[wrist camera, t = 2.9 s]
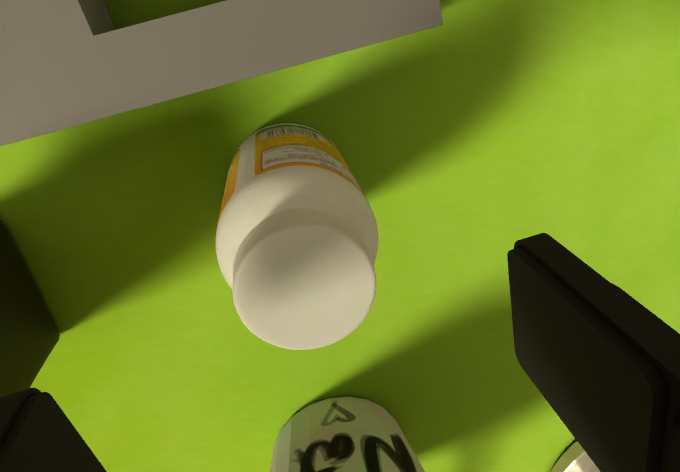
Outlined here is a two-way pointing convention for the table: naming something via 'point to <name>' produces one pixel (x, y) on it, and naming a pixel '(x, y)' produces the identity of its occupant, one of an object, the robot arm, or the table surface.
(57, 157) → the table surface
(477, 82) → the table surface
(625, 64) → the table surface
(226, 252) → the supplement bottle
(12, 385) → the battery charger
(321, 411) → the mug
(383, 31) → the socket board
